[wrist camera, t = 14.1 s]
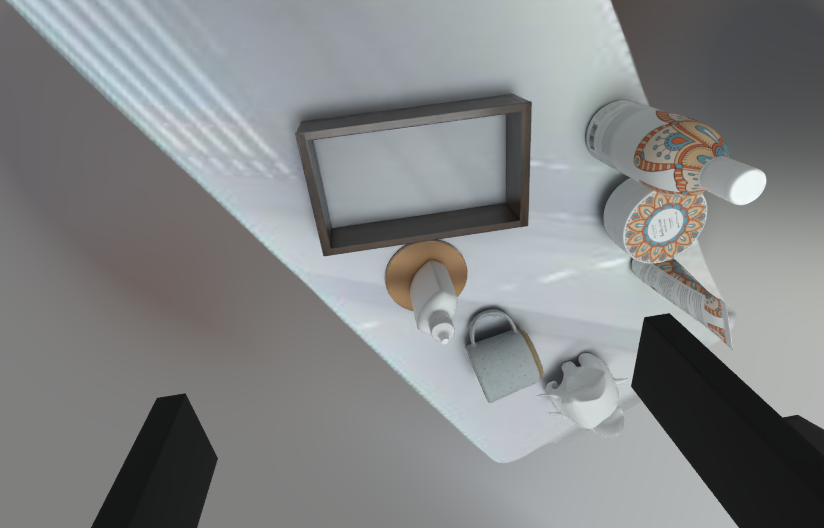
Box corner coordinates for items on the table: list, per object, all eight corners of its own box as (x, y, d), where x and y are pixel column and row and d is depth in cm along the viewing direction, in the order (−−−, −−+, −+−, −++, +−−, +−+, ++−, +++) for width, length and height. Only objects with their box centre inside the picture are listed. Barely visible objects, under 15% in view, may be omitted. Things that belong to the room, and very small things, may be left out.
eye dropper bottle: (397, 278, 53) (409, 341, 43) (437, 253, 52) (459, 312, 42) (416, 302, 55) (432, 368, 45) (455, 279, 54) (480, 341, 44)
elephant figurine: (523, 371, 64) (547, 419, 56) (600, 333, 62) (635, 378, 54) (546, 410, 68) (570, 459, 61) (618, 375, 67) (653, 422, 59)
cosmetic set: (683, 263, 58) (814, 359, 42) (617, 294, 59) (719, 399, 43) (648, 81, 46) (812, 115, 30) (565, 124, 47) (680, 179, 31)
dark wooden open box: (300, 121, 44) (295, 133, 39) (514, 93, 45) (531, 101, 41) (325, 236, 50) (323, 256, 46) (513, 208, 51) (528, 226, 47)
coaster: (379, 245, 51) (380, 247, 51) (464, 233, 52) (465, 235, 51) (390, 315, 56) (391, 318, 56) (467, 303, 57) (469, 305, 56)
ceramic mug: (530, 354, 62) (552, 393, 56) (476, 374, 63) (491, 415, 56) (511, 296, 57) (533, 331, 51) (452, 319, 58) (466, 357, 51)
